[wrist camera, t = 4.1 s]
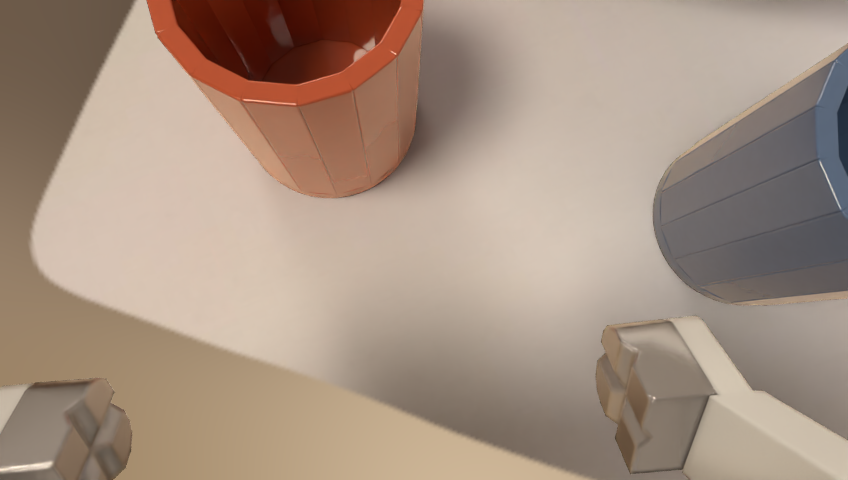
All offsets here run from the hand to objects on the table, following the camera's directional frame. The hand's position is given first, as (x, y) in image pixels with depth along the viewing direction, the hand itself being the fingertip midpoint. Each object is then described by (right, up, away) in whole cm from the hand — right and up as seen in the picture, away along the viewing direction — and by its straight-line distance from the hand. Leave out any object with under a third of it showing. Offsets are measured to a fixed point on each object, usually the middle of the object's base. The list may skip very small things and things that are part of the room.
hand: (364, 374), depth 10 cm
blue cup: (+14, +3, +15) cm, 21 cm away
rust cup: (-3, +8, +15) cm, 17 cm away
